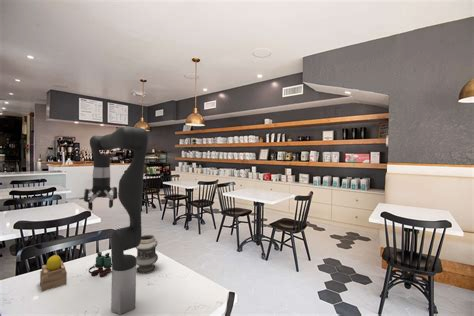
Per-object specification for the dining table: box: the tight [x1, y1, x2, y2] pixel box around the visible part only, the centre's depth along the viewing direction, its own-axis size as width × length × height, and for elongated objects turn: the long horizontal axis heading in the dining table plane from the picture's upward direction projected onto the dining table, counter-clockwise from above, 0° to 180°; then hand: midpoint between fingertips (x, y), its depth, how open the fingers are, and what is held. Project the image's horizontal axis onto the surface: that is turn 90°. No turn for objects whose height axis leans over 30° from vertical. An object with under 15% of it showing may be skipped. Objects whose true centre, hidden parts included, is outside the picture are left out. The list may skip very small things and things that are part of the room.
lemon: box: [45, 254, 62, 271], centre depth 111 cm, size 6×6×8 cm
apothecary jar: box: [135, 234, 159, 274], centre depth 128 cm, size 12×12×18 cm
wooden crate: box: [39, 260, 68, 293], centre depth 111 cm, size 9×9×8 cm
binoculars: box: [88, 251, 112, 278], centre depth 121 cm, size 9×11×10 cm
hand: (100, 208), depth 115 cm, fingers open, 8 cm apart
